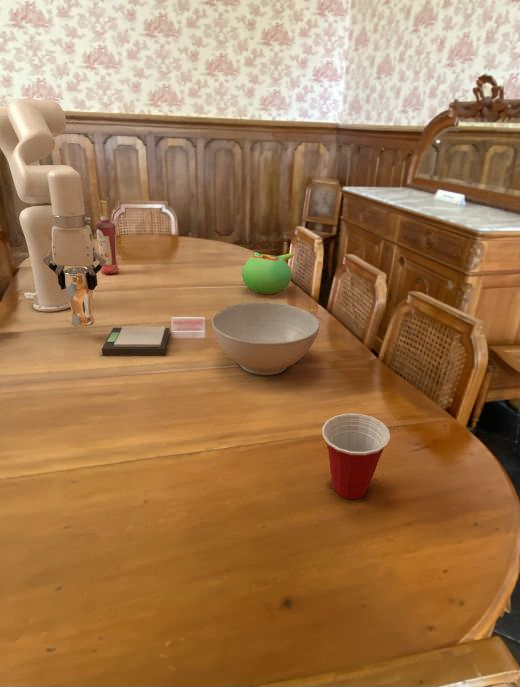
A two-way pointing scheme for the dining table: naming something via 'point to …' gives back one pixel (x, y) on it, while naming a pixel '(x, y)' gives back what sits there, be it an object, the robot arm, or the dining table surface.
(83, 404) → the dining table surface
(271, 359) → the decorative bowl
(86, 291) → the beer glass
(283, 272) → the green round pot
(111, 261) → the liquor
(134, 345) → the scale
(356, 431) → the plastic cup
